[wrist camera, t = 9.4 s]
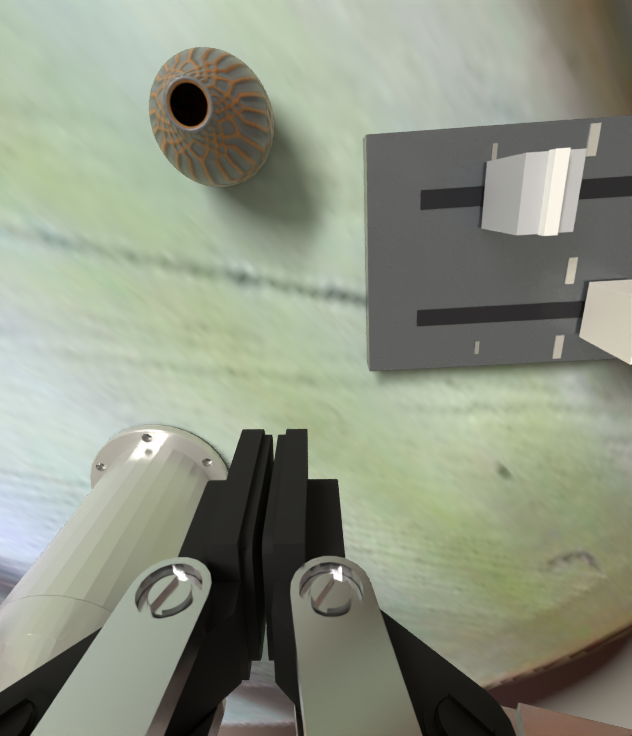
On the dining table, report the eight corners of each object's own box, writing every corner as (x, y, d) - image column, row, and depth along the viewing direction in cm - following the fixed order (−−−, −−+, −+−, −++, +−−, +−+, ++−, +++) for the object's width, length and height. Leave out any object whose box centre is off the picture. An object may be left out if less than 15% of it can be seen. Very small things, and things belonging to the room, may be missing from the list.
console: (671, 345, 33) (692, 355, 31) (367, 361, 34) (369, 371, 32) (736, 111, 27) (768, 105, 25) (363, 139, 28) (366, 134, 26)
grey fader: (527, 226, 27) (579, 233, 22) (481, 229, 27) (521, 237, 22) (535, 157, 26) (594, 145, 20) (487, 160, 26) (532, 150, 20)
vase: (300, 144, 28) (290, 122, 20) (222, 209, 29) (184, 213, 21) (233, 43, 26) (192, -28, 18) (154, 118, 27) (83, 85, 19)
